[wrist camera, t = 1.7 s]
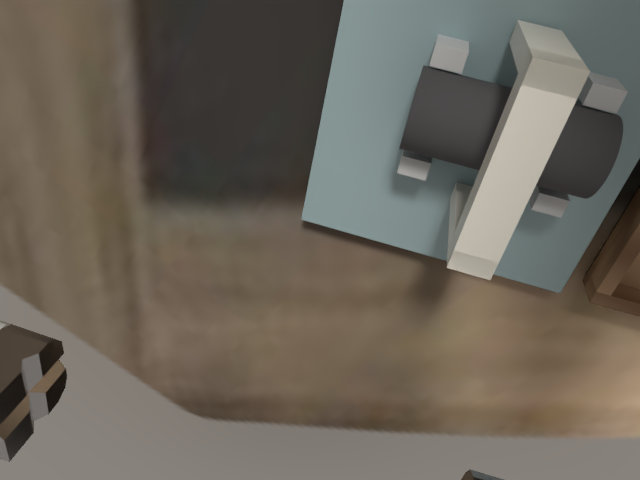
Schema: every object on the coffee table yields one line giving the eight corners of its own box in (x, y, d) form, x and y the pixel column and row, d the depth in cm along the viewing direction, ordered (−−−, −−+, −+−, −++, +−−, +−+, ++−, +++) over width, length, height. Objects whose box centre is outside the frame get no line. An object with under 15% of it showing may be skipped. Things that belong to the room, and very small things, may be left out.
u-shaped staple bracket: (517, 19, 24) (532, 57, 18) (561, 30, 24) (590, 71, 18) (450, 197, 29) (446, 268, 24) (486, 207, 29) (490, 280, 24)
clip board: (372, -131, 23) (361, -133, 21) (747, -47, 22) (783, -39, 19) (305, 211, 34) (292, 236, 31) (557, 283, 32) (565, 315, 30)
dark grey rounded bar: (425, 59, 26) (421, 73, 23) (607, 105, 25) (633, 128, 22) (402, 135, 28) (396, 159, 25) (571, 180, 27) (589, 212, 24)
